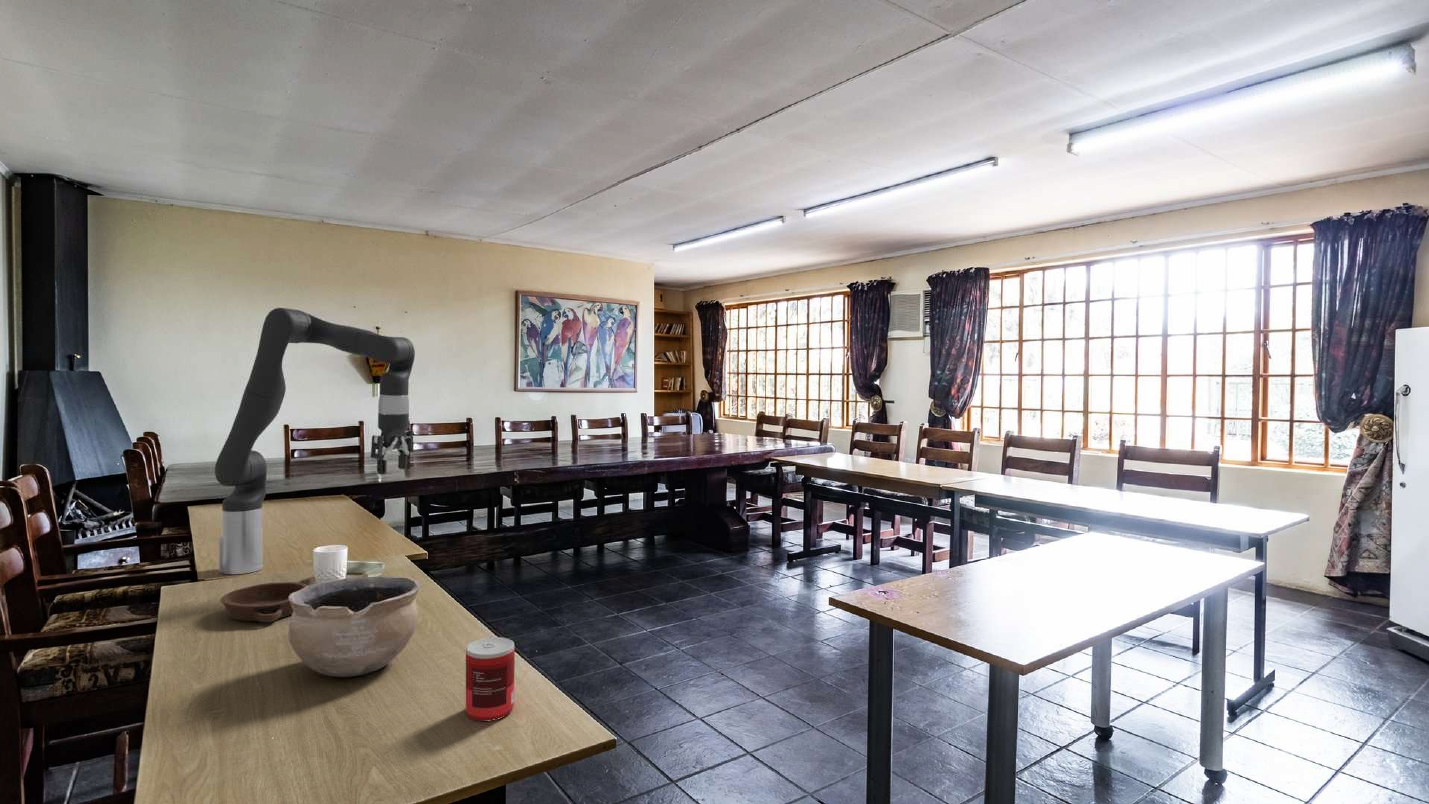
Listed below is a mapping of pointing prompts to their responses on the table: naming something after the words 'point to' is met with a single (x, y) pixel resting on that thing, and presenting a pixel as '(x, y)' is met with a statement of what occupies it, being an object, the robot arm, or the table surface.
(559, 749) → the table surface
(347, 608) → the ceramic bowl
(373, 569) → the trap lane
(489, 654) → the canned food
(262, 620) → the dish
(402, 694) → the table surface
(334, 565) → the white cup
